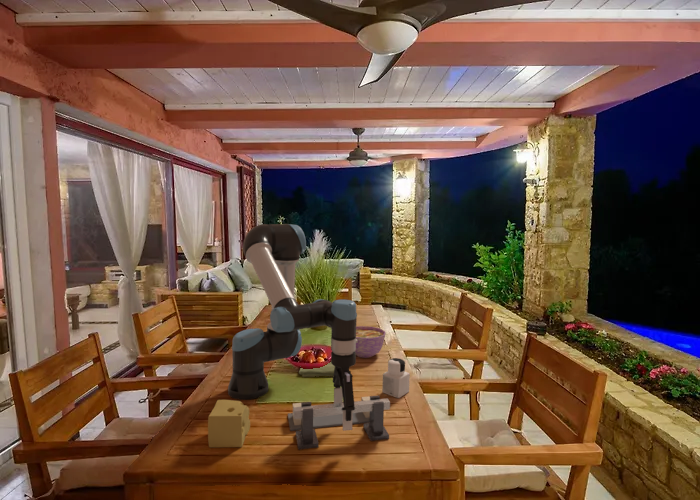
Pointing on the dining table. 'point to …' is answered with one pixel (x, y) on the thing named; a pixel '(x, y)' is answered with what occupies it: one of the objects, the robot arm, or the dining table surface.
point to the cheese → (228, 424)
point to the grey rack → (373, 428)
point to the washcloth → (318, 371)
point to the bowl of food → (369, 341)
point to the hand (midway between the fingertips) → (342, 418)
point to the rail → (339, 408)
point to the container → (396, 378)
